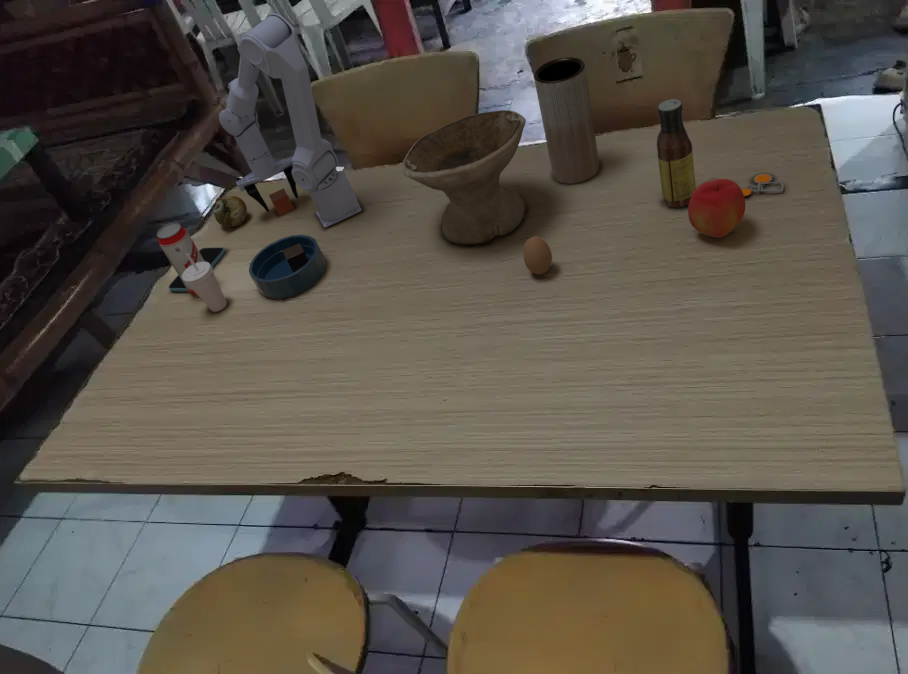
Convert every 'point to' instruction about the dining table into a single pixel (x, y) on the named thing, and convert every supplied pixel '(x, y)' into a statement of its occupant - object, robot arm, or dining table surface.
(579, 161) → the planter
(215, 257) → the smartphone
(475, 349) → the dining table surface
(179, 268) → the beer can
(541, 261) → the egg
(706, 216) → the apple
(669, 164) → the sauce bottle
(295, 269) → the walnut block
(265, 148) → the robot arm
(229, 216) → the onion
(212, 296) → the smoothie
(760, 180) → the key chain
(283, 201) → the terracotta block
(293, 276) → the teal bowl
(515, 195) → the bowl
